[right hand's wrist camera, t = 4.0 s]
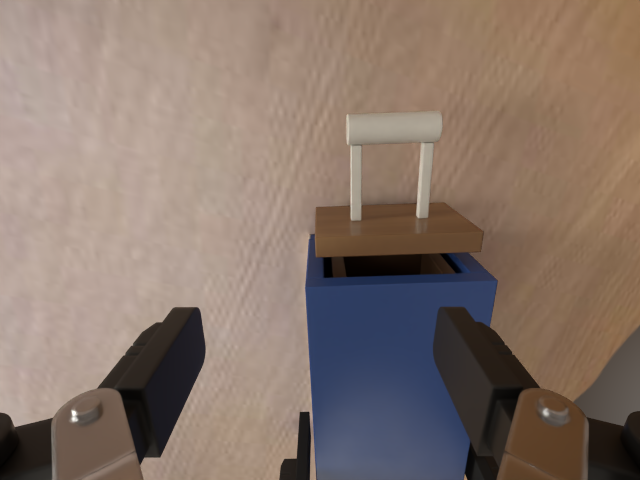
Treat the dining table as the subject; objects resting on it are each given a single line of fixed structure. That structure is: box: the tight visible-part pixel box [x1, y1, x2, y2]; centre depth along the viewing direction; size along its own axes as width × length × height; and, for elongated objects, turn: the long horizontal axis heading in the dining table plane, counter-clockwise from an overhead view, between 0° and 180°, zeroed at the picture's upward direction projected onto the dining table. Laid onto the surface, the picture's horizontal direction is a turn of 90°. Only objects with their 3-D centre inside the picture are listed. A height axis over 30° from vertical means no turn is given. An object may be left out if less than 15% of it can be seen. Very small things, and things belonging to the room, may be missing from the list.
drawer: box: [315, 111, 484, 278], centre depth 23 cm, size 25×9×6 cm, turn 2°
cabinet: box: [305, 235, 498, 480], centre depth 25 cm, size 20×10×8 cm, turn 2°
